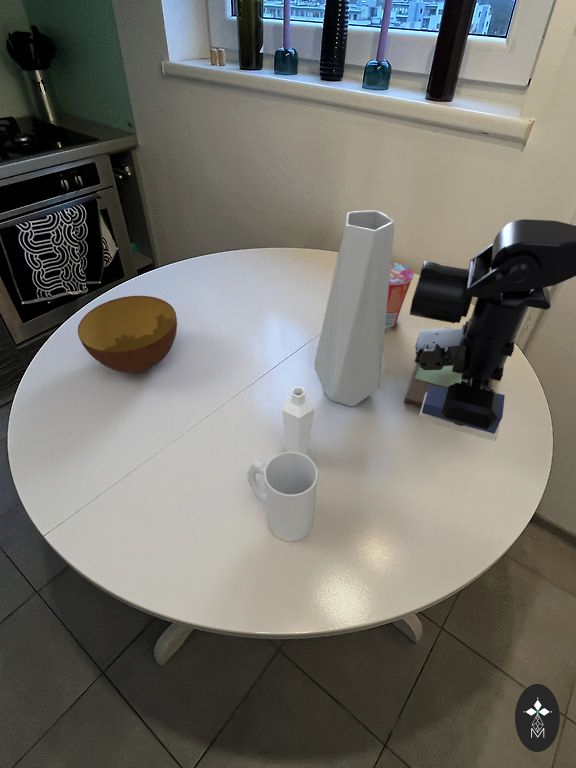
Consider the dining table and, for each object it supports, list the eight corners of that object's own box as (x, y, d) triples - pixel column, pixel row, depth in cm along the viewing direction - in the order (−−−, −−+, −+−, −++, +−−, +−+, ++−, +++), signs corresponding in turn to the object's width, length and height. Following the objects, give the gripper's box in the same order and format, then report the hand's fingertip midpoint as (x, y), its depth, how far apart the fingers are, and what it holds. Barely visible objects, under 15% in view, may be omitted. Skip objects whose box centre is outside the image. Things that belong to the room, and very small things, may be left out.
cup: (380, 305, 105) (387, 258, 97) (411, 320, 101) (422, 272, 92) (355, 322, 100) (360, 274, 92) (386, 339, 96) (395, 290, 88)
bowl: (81, 394, 84) (63, 352, 77) (107, 336, 97) (94, 295, 90) (176, 392, 84) (166, 351, 77) (190, 335, 97) (182, 295, 90)
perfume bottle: (316, 453, 74) (321, 387, 64) (302, 472, 71) (305, 406, 61) (292, 441, 76) (293, 375, 65) (278, 459, 73) (276, 394, 63)
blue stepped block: (498, 417, 68) (508, 394, 64) (495, 441, 64) (506, 418, 61) (424, 397, 71) (430, 374, 68) (418, 419, 68) (424, 396, 64)
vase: (394, 401, 82) (434, 227, 60) (340, 423, 79) (360, 246, 56) (357, 362, 90) (380, 195, 68) (306, 380, 86) (312, 210, 64)
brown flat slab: (494, 363, 90) (496, 358, 89) (484, 426, 78) (486, 421, 77) (423, 345, 94) (425, 340, 93) (403, 402, 82) (405, 397, 81)
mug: (322, 513, 66) (326, 463, 58) (301, 552, 62) (303, 504, 53) (262, 485, 69) (259, 435, 61) (239, 520, 65) (231, 471, 57)
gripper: (439, 278, 65) (418, 361, 75) (412, 355, 52) (392, 441, 63) (522, 294, 61) (488, 378, 72) (515, 381, 49) (475, 467, 60)
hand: (460, 412), depth 67 cm, fingers closed on blue stepped block, 4 cm apart
